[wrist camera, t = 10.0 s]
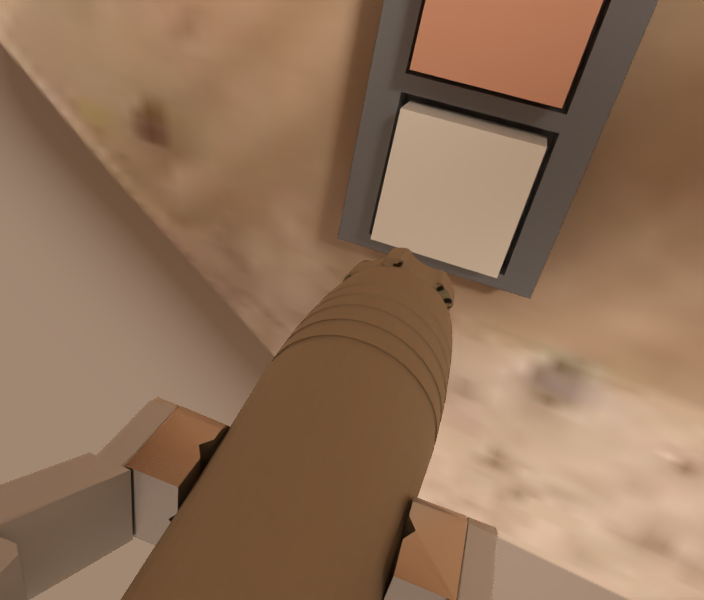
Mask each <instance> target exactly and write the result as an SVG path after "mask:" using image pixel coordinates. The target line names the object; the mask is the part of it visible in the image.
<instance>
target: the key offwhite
mask: <svg viewBox="0 0 704 600" xmlns="http://www.w3.org/2000/svg"><path fill="white" fill-rule="evenodd" d="M546 149H547V136H544V135H540V134H537V133H533V132H529V131H525V130H522V129H518V128H514V127H510V126H507V125H503V124H499V123H495V122H491V121H488V120H484V119H480V118H476V117H473V116H469V115H465V114H461V113H458V112H454V111H450V110H446V109H442V108H439V107H435V106H431V105H427V104H424V103H420V102H416V101H412V100H411V101H409V102H408V103H407V104H405V105H404V106H403V107H402V108H401V109H400V113H399V118H398V122H397V126H396V131H395V135H394V139H393V144H392V148H391V152H390V157H389V161H388V165H387V170H386V174H385V178H384V183H383V187H382V192H381V196H380V200H379V205H378V209H377V213H376V218H375V222H374V226H373V231H372V235H371V239H372V240H375V241H378V242H381V243H385V244H388V245H391V246H394V247H398V248H408V249H409V250H411V252H414V253H417V254H420V255H423V256H427V257H430V258H433V259H436V260H439V261H443V262H446V263H449V264H452V265H455V266H459V267H462V268H465V269H468V270H472V271H475V272H478V273H481V274H484V275H488V276H491V277H494V278H497V277H498V274H499V272H500V269H501V267H502V264H503V261H504V259H505V256H506V254H507V251H508V248H509V246H510V243H511V240H512V238H513V235H514V233H515V230H516V227H517V225H518V222H519V220H520V217H521V214H522V212H523V209H524V206H525V204H526V201H527V199H528V196H529V193H530V191H531V188H532V186H533V183H534V180H535V178H536V175H537V173H538V170H539V167H540V165H541V162H542V159H543V157H544V154H545V152H546Z"/></svg>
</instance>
